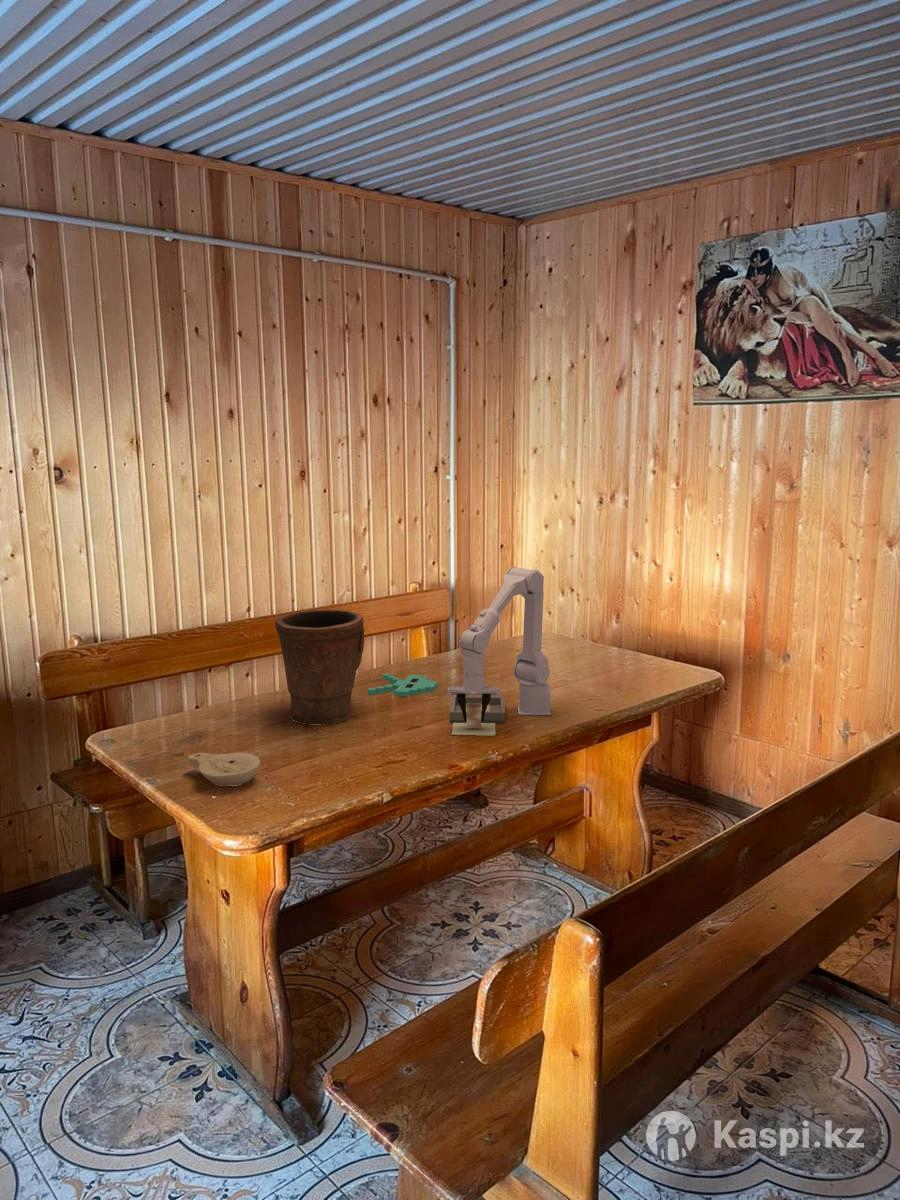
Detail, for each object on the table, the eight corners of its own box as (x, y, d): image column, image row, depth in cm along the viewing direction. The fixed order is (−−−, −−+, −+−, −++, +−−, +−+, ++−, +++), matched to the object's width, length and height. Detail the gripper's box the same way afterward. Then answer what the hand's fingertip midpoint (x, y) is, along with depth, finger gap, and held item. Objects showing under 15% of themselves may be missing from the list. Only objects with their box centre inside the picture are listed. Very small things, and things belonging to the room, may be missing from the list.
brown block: (480, 723, 252) (480, 703, 251) (480, 728, 248) (480, 707, 247) (466, 723, 252) (466, 703, 251) (466, 728, 249) (466, 707, 248)
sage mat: (495, 724, 255) (494, 723, 255) (495, 735, 245) (495, 734, 245) (453, 724, 255) (453, 722, 255) (451, 735, 246) (451, 734, 246)
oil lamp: (167, 781, 215) (166, 761, 215) (212, 762, 227) (210, 743, 227) (230, 798, 205) (228, 778, 204) (273, 778, 217) (272, 758, 216)
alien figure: (367, 696, 285) (428, 699, 281) (367, 689, 285) (428, 692, 281) (384, 679, 304) (441, 682, 300) (384, 673, 304) (441, 676, 300)
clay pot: (392, 711, 268) (390, 613, 263) (316, 735, 247) (312, 630, 241) (336, 695, 285) (333, 603, 279) (261, 716, 264) (256, 617, 258)
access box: (504, 706, 272) (504, 696, 271) (505, 723, 256) (505, 712, 255) (451, 706, 272) (451, 696, 272) (449, 723, 256) (449, 712, 256)
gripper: (447, 676, 244) (447, 724, 246) (499, 676, 243) (499, 724, 246) (448, 670, 251) (448, 716, 253) (499, 670, 250) (499, 716, 252)
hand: (473, 719), depth 250 cm, fingers open, 4 cm apart
